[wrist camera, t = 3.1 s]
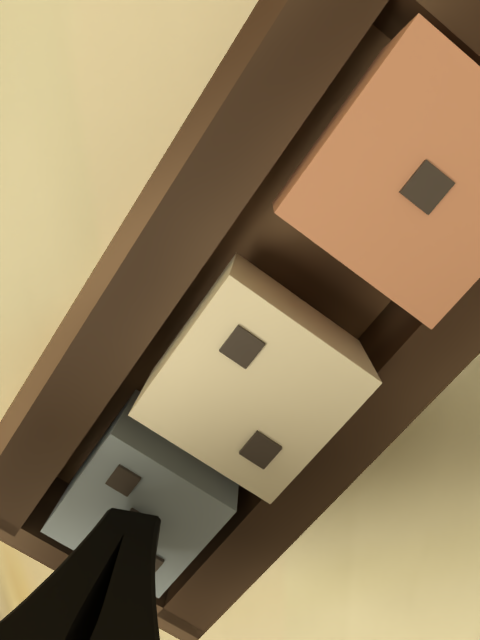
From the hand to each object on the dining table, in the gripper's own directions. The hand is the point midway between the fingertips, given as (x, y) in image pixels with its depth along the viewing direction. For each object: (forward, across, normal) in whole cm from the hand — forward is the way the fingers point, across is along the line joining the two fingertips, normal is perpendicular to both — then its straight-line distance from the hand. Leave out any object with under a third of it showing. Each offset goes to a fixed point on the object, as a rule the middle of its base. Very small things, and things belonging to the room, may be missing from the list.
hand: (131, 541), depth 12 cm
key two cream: (+2, -2, -5) cm, 6 cm away
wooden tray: (+4, -2, -5) cm, 7 cm away
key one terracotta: (+2, -5, -10) cm, 11 cm away
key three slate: (+3, 0, 0) cm, 3 cm away
